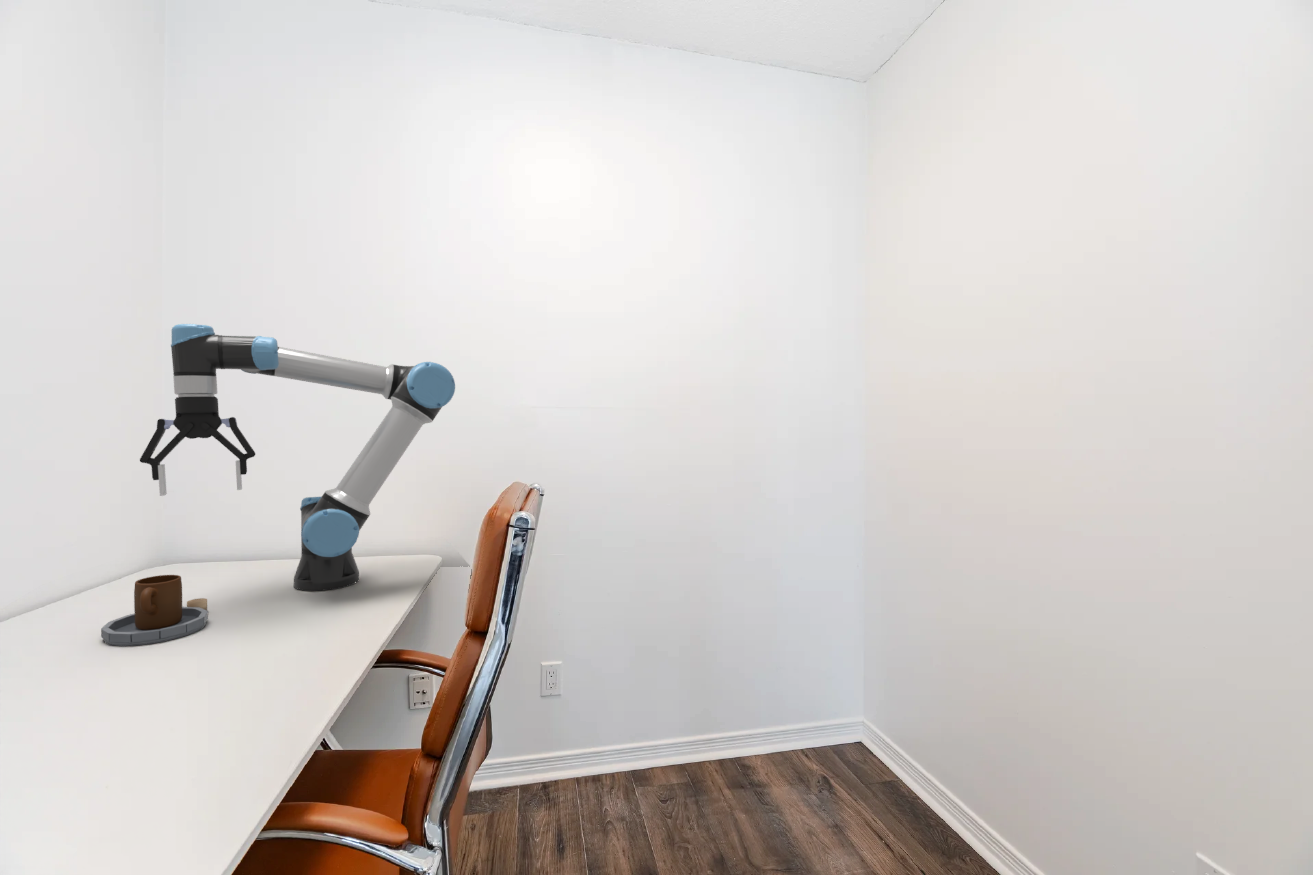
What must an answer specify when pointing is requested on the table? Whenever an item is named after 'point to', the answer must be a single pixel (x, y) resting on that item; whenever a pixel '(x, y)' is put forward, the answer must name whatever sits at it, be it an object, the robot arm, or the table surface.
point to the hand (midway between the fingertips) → (202, 492)
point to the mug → (158, 602)
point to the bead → (198, 603)
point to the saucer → (130, 635)
